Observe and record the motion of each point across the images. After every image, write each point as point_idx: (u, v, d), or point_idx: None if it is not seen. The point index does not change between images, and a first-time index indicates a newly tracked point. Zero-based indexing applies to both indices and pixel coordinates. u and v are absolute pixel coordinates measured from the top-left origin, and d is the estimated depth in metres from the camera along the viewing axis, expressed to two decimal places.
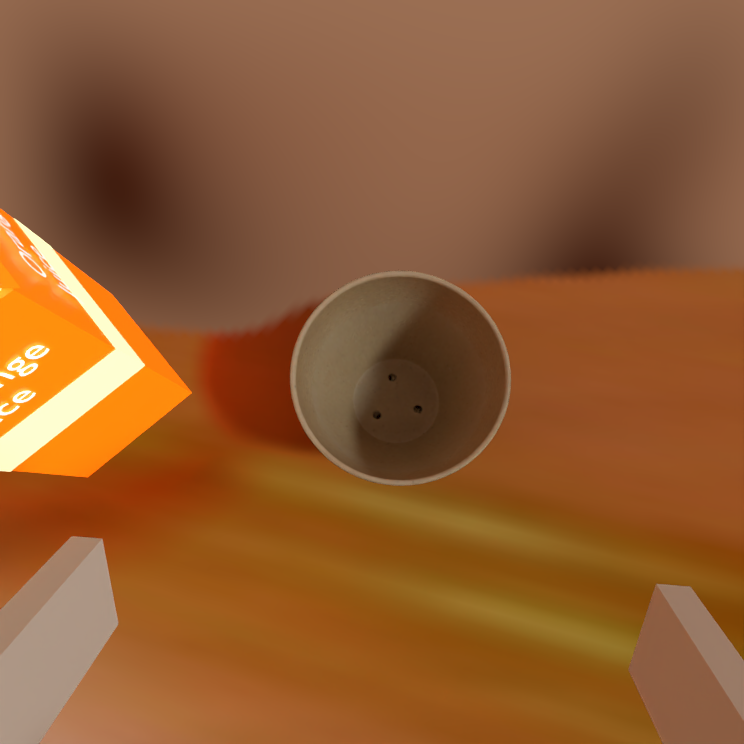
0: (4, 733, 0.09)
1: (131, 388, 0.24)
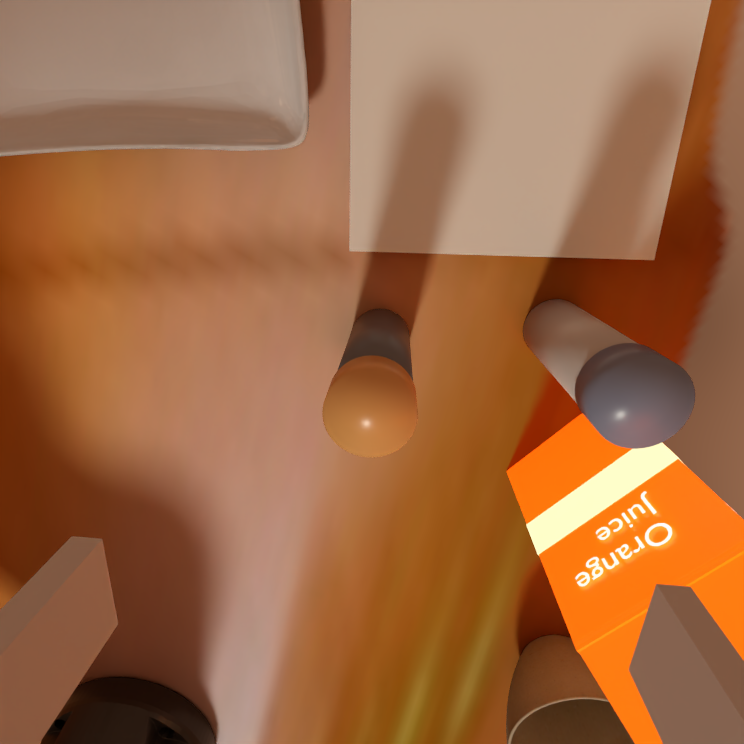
0: (4, 733, 0.09)
1: None
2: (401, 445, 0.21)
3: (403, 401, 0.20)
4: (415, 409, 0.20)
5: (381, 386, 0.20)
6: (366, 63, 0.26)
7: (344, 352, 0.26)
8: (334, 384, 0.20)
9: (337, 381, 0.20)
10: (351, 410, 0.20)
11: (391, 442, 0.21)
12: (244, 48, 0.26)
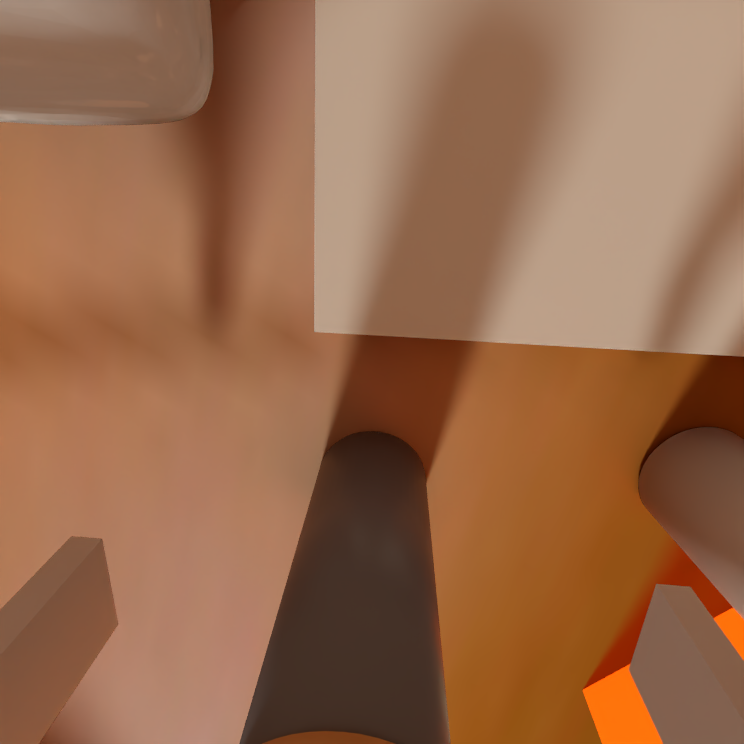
0: (4, 733, 0.09)
1: None
2: None
3: None
4: None
5: None
6: None
7: (287, 588, 0.11)
8: None
9: None
10: None
11: None
12: None
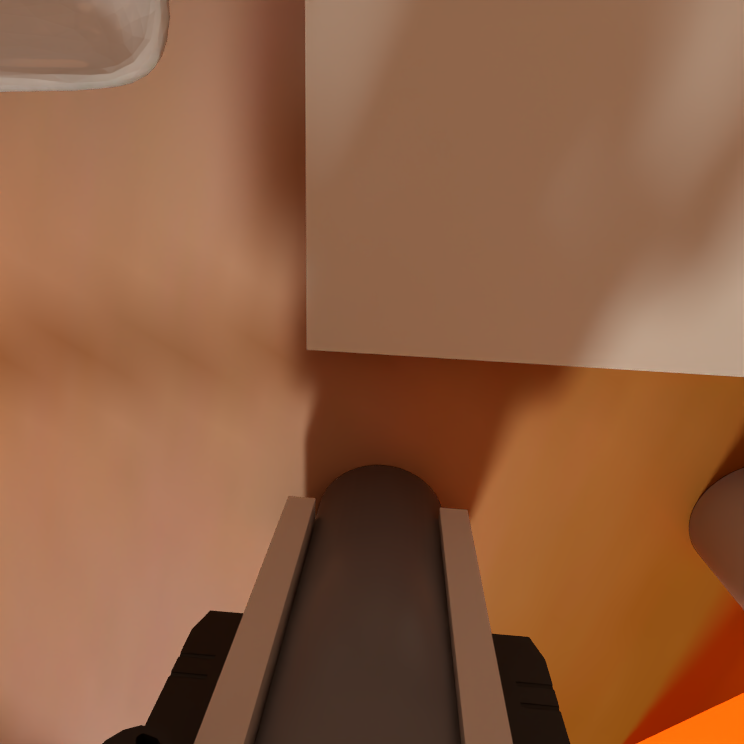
0: None
1: None
2: None
3: None
4: None
5: None
6: None
7: (271, 690, 0.09)
8: None
9: None
10: None
11: None
12: None
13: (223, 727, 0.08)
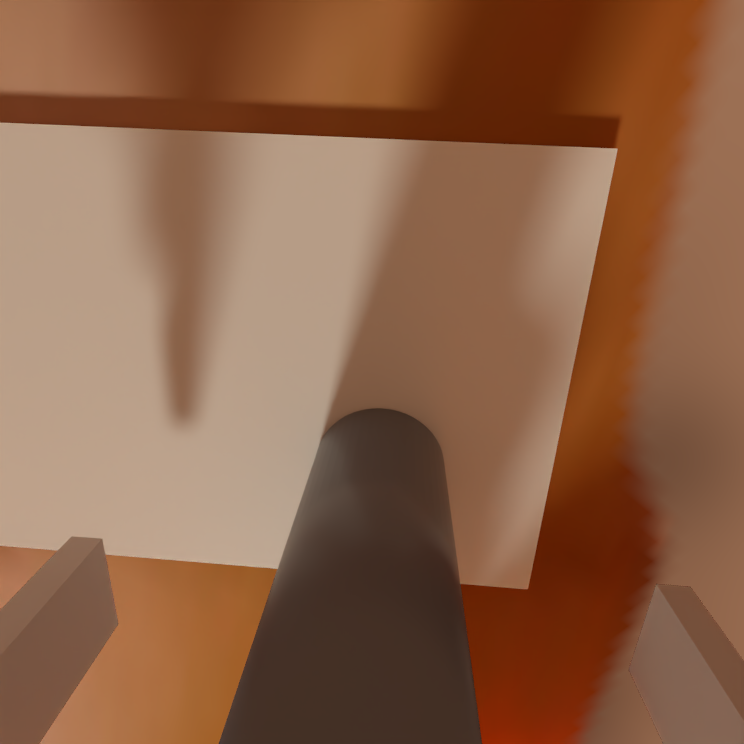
0: (4, 733, 0.09)
1: None
2: None
3: None
4: None
5: None
6: None
7: (264, 611, 0.08)
8: None
9: None
10: None
11: None
12: None
13: None
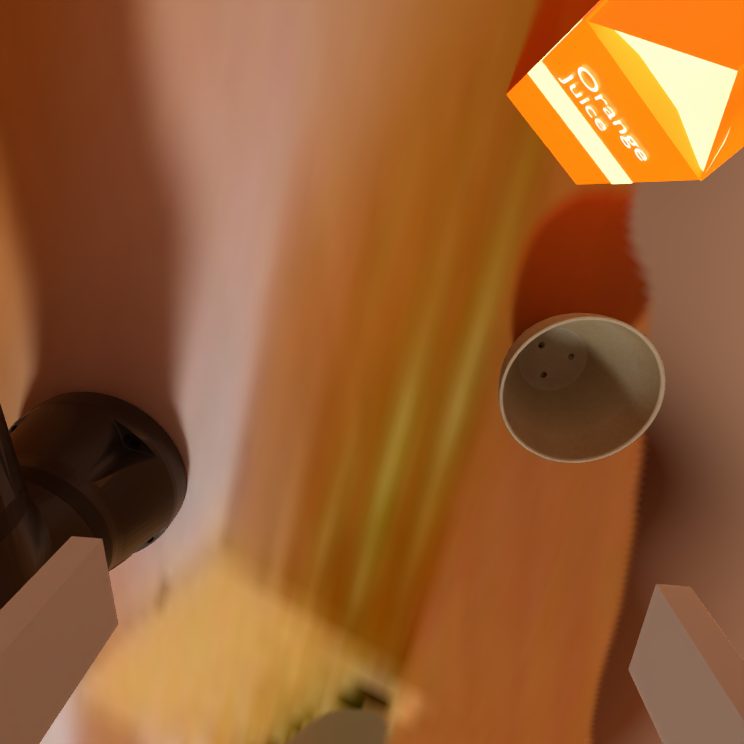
0: (4, 733, 0.09)
1: (591, 165, 0.28)
2: None
3: None
4: None
5: None
6: None
7: None
8: None
9: None
10: None
11: None
12: None
13: None
